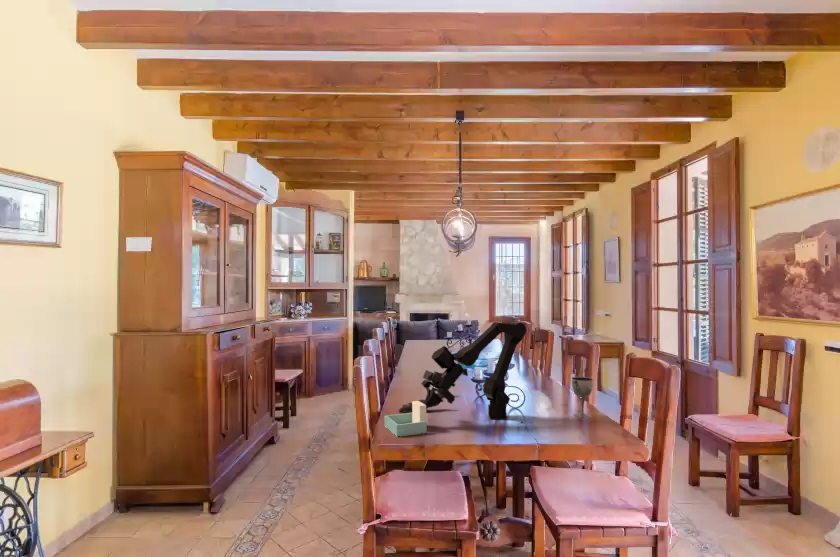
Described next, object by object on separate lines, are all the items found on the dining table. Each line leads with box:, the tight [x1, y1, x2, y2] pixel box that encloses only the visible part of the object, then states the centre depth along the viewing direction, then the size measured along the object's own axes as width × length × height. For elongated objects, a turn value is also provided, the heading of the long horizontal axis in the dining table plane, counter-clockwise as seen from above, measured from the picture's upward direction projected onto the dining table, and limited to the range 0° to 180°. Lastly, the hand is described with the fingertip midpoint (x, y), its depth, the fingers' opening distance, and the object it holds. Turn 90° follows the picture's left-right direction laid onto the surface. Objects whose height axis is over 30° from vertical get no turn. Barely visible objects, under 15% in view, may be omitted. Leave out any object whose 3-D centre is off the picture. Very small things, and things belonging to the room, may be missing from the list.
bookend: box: [411, 400, 427, 423], centre depth 175 cm, size 10×8×9 cm
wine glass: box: [571, 376, 594, 419], centre depth 191 cm, size 8×8×15 cm
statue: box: [398, 399, 442, 413], centre depth 200 cm, size 6×6×20 cm
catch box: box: [384, 412, 428, 438], centre depth 174 cm, size 11×13×4 cm
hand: (422, 408), depth 177 cm, fingers closed, pressing on bookend
